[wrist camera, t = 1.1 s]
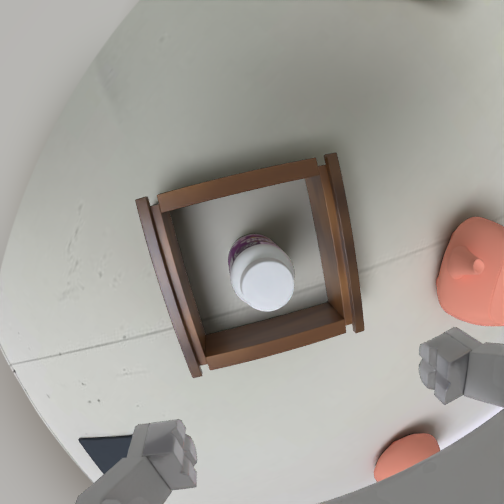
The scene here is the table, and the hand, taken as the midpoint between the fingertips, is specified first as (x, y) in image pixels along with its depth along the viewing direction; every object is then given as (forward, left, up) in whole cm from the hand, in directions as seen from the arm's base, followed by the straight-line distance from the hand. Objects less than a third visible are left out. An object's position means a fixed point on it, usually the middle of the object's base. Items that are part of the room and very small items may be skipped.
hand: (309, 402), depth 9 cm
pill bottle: (+1, +1, -24) cm, 24 cm away
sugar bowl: (+42, +19, -24) cm, 52 cm away
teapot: (+9, +28, -24) cm, 38 cm away
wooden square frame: (+1, +1, -24) cm, 24 cm away
